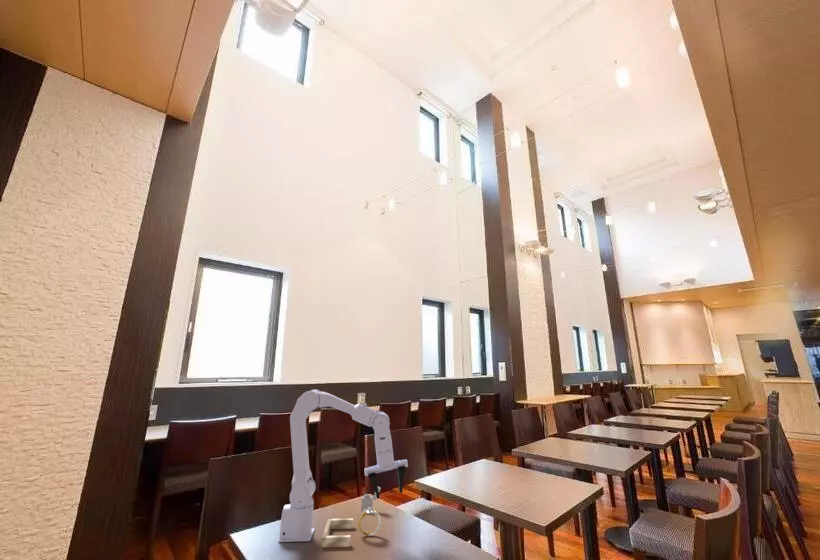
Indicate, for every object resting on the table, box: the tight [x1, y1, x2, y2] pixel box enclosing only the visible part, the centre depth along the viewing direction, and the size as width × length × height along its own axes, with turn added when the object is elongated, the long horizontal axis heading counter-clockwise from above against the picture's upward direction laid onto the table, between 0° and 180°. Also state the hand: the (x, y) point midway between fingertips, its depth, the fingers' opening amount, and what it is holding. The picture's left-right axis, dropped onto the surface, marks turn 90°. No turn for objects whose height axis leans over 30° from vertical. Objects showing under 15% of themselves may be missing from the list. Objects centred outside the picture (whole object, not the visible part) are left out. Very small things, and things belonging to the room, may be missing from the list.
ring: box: [358, 507, 381, 537], centre depth 110 cm, size 7×3×8 cm, turn 90°
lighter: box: [360, 486, 382, 512], centre depth 129 cm, size 7×2×8 cm, turn 89°
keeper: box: [320, 517, 354, 548], centre depth 108 cm, size 8×13×2 cm, turn 5°
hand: (389, 494), depth 112 cm, fingers open, 7 cm apart
